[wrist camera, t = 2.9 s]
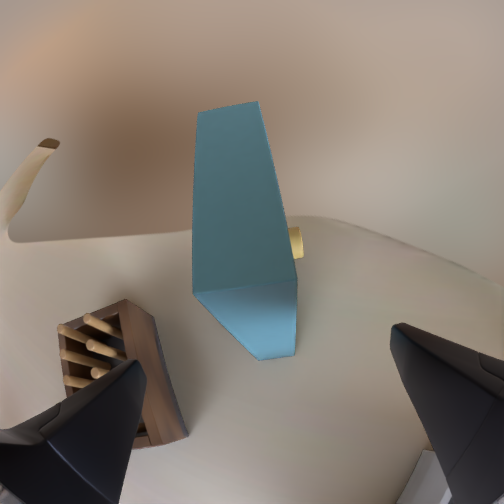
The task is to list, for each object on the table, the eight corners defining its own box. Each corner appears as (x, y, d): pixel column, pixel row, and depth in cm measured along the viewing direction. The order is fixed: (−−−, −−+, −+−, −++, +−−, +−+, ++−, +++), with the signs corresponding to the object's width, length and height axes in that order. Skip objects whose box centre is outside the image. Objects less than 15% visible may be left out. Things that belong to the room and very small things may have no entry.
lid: (314, 352, 19) (354, 269, 7) (258, 360, 19) (191, 294, 7) (296, 253, 23) (291, 96, 10) (247, 261, 23) (197, 112, 11)
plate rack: (189, 436, 17) (147, 449, 11) (115, 448, 16) (62, 455, 11) (154, 317, 22) (110, 287, 16) (90, 339, 21) (40, 317, 16)
